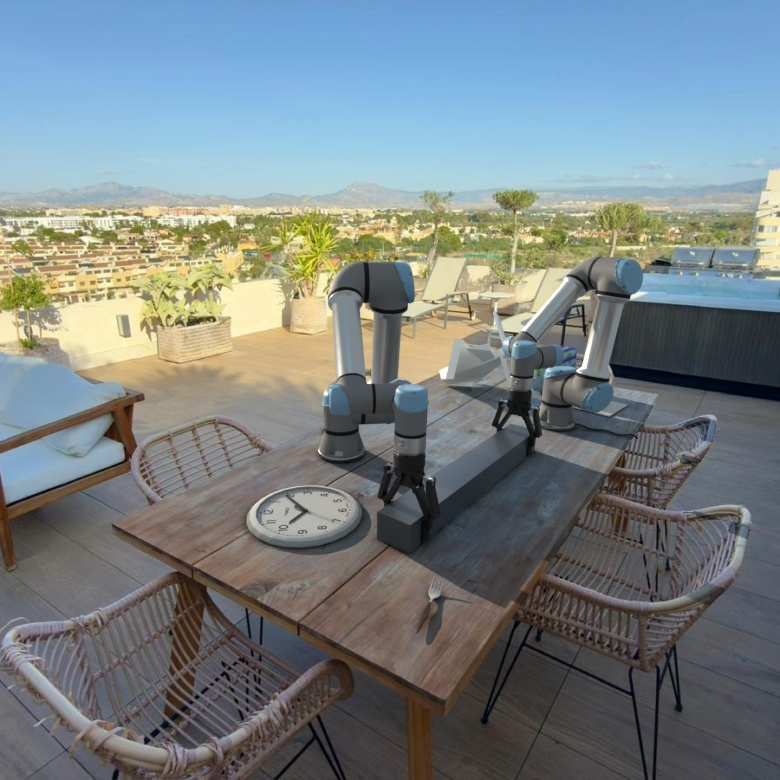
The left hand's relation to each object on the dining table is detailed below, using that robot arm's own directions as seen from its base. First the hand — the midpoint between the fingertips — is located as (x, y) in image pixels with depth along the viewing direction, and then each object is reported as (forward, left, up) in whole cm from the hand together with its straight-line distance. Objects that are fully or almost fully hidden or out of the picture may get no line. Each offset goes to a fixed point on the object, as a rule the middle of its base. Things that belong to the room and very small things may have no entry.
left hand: (407, 532), depth 130 cm
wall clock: (-18, -21, -1) cm, 28 cm away
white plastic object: (-94, +81, -1) cm, 124 cm away
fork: (+25, -7, -1) cm, 26 cm away
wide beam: (-16, +28, -1) cm, 32 cm away
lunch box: (-85, +116, -1) cm, 143 cm away
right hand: (-32, +55, 0) cm, 64 cm away
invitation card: (-58, +120, -1) cm, 133 cm away
